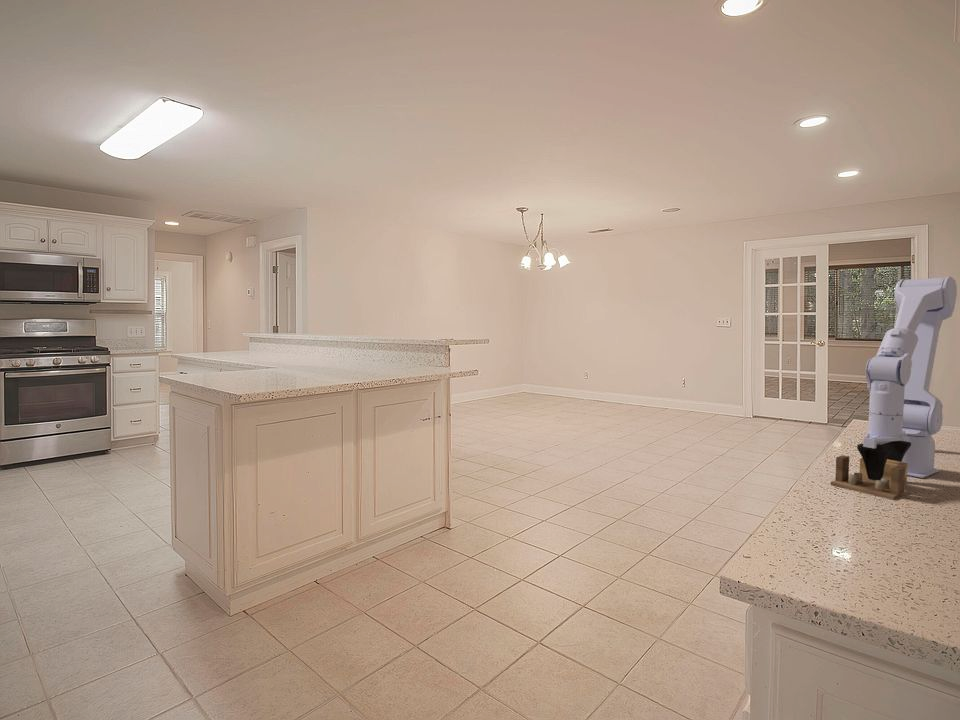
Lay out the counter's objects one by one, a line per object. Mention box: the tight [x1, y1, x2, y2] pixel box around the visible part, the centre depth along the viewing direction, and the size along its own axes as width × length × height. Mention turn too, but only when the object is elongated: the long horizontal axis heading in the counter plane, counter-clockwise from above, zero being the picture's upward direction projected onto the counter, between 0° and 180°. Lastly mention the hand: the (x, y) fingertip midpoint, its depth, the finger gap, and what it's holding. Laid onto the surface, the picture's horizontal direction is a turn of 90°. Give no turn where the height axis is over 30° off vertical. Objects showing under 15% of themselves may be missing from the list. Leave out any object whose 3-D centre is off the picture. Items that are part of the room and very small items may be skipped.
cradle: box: [830, 454, 909, 501], centre depth 107 cm, size 7×11×6 cm, turn 32°
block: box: [859, 457, 908, 488], centre depth 111 cm, size 4×7×5 cm, turn 32°
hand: (882, 476), depth 111 cm, fingers open, 7 cm apart
